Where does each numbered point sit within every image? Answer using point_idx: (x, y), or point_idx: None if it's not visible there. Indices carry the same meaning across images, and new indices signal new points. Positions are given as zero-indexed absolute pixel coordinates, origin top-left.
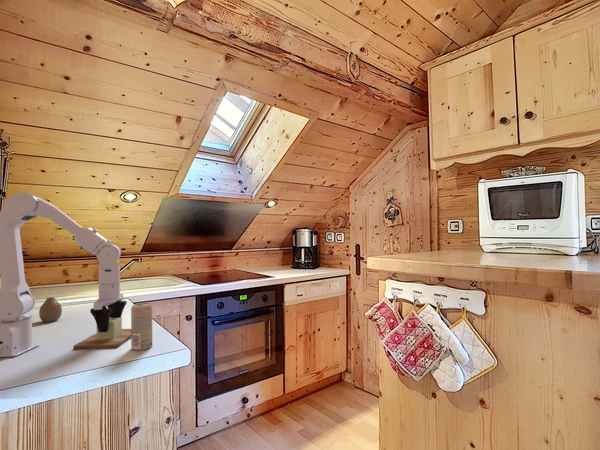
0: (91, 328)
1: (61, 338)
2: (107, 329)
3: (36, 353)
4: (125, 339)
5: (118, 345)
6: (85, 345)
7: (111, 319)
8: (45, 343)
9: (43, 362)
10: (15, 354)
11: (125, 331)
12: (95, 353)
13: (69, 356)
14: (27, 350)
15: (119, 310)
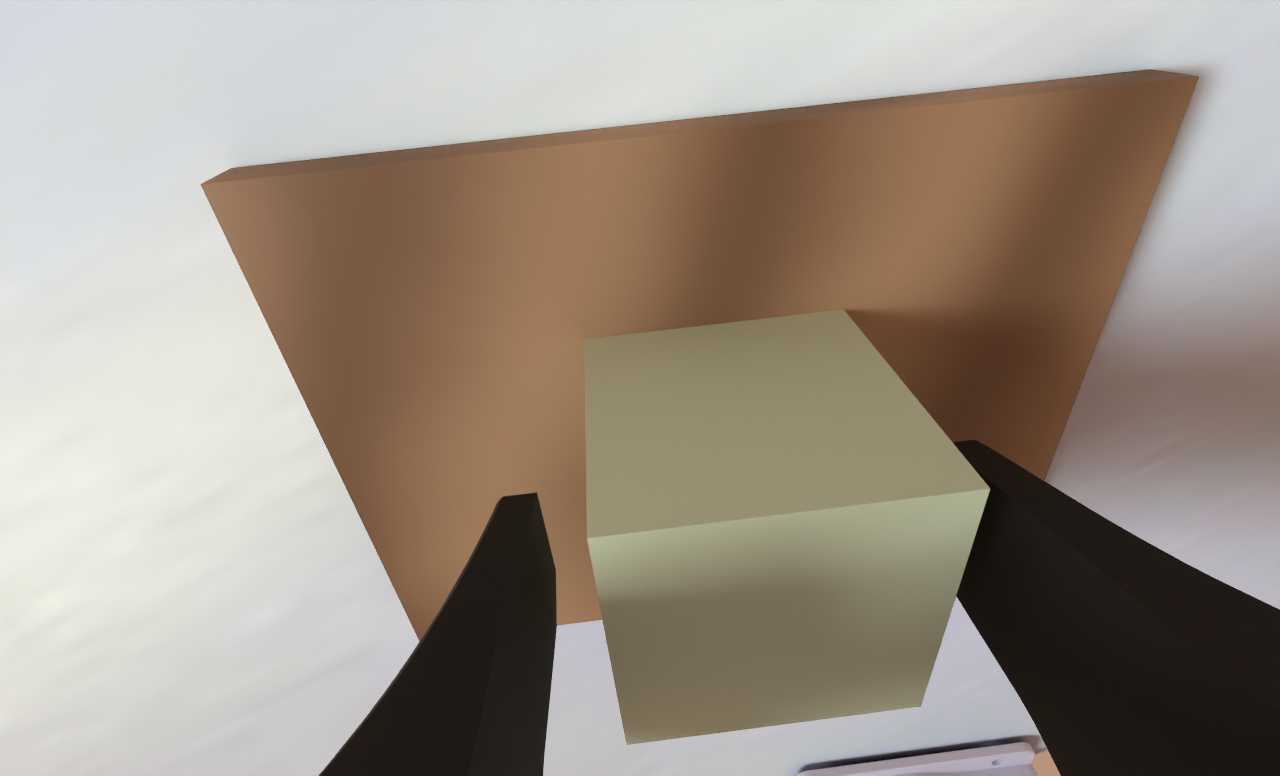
0: (298, 754)
1: (624, 762)
2: (985, 457)
3: (987, 692)
4: (896, 105)
5: (1151, 75)
6: (1042, 479)
7: (746, 625)
8: (745, 768)
9: (1268, 546)
10: (1026, 756)
11: (456, 348)
12: (1261, 259)
13: (1211, 457)
14: (926, 757)
15: (489, 773)
